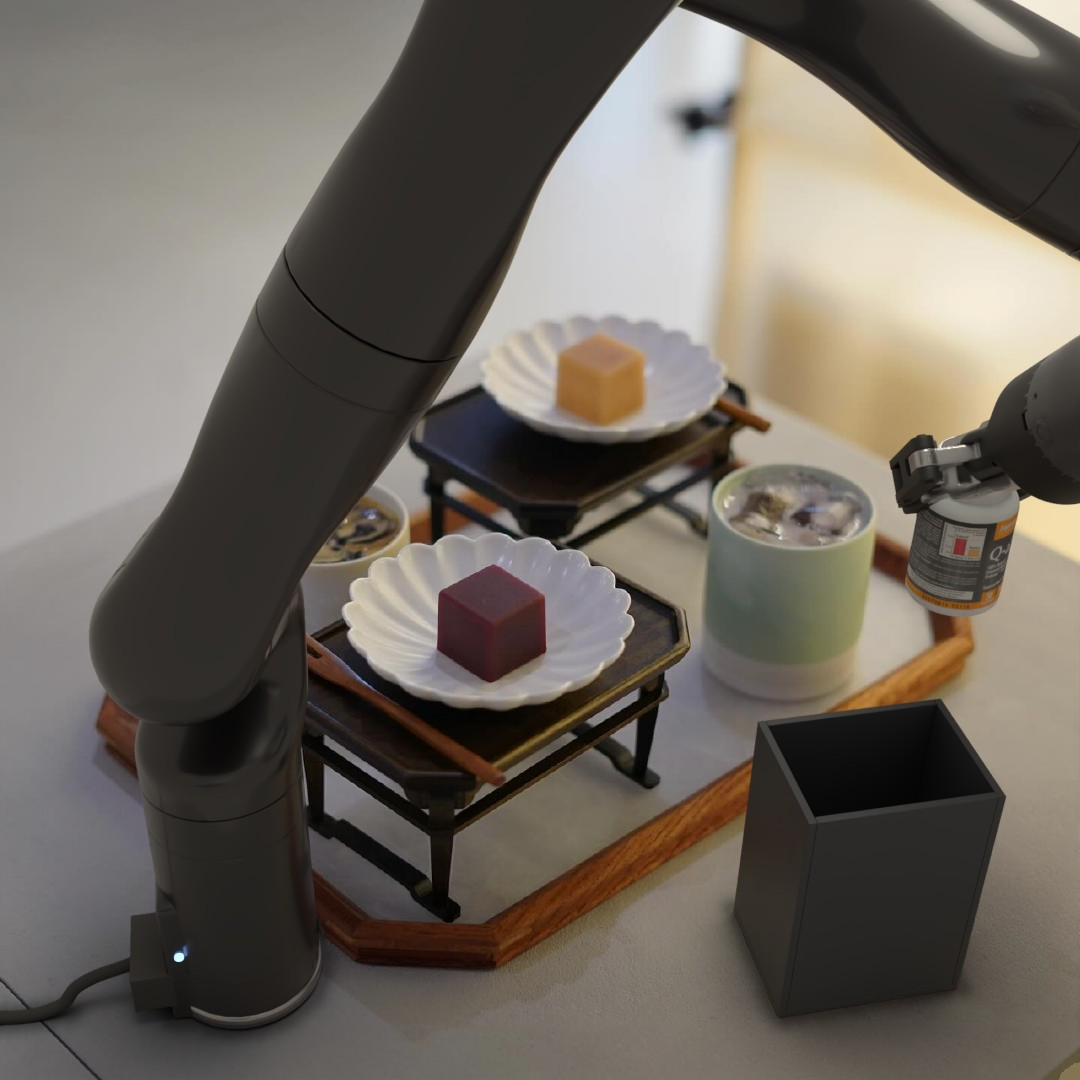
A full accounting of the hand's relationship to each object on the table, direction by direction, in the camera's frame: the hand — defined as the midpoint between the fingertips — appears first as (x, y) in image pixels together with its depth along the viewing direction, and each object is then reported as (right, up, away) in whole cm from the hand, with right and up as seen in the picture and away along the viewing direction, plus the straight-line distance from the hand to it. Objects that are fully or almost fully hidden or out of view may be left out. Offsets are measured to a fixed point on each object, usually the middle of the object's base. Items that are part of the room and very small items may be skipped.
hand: (955, 492), depth 91 cm
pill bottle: (0, -6, +2) cm, 7 cm away
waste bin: (-5, -29, +8) cm, 31 cm away
